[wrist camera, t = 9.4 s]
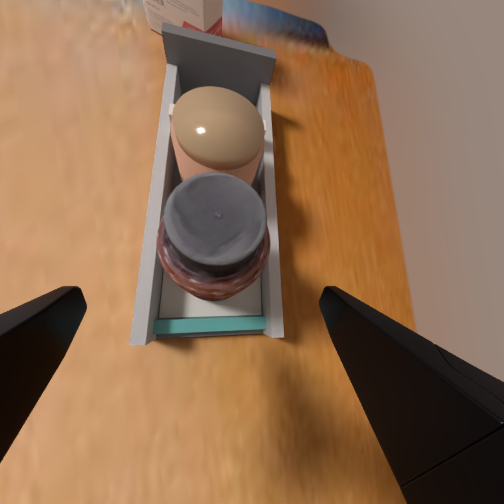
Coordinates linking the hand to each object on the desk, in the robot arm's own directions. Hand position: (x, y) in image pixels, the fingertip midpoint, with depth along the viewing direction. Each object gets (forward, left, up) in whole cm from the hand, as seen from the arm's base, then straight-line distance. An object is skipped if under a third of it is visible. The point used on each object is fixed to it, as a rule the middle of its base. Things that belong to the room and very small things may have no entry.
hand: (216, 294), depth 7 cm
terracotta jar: (+10, -6, -11) cm, 16 cm away
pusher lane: (+10, -5, -11) cm, 16 cm away
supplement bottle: (+2, -1, -11) cm, 11 cm away
